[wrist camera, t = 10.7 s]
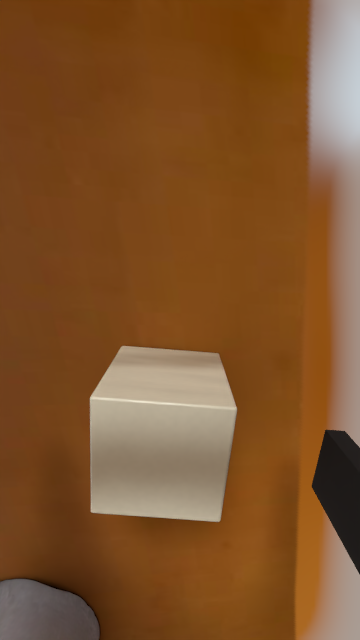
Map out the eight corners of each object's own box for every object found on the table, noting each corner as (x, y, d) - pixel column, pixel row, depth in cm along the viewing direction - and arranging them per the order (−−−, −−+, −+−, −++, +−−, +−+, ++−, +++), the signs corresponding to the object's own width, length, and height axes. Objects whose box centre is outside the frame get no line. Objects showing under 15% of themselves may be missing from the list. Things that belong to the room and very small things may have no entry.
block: (121, 345, 14) (88, 397, 9) (219, 352, 14) (238, 408, 9) (119, 429, 15) (90, 513, 10) (208, 435, 15) (220, 523, 10)
